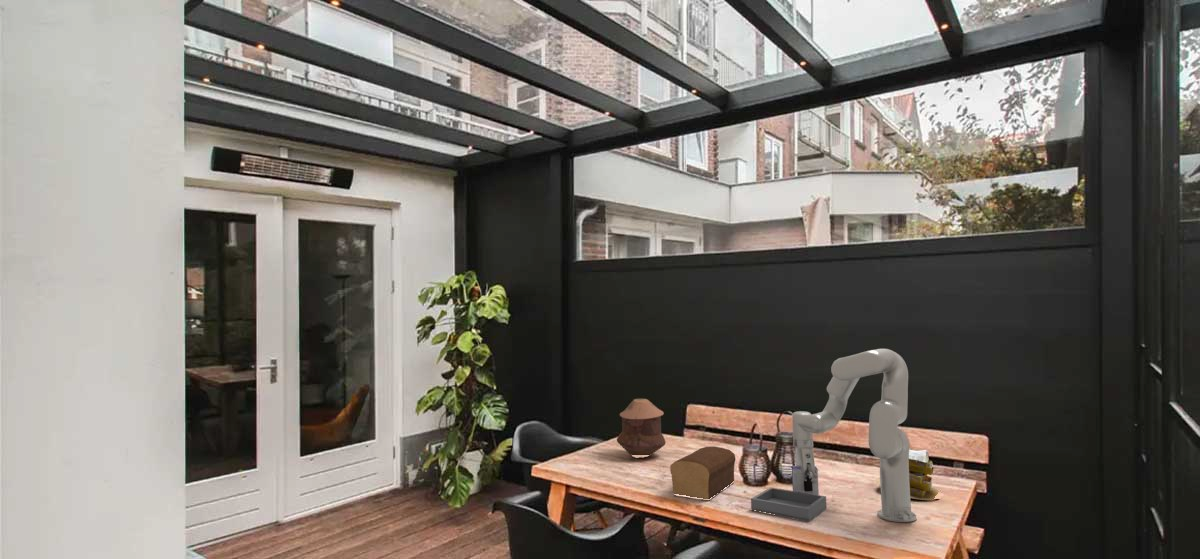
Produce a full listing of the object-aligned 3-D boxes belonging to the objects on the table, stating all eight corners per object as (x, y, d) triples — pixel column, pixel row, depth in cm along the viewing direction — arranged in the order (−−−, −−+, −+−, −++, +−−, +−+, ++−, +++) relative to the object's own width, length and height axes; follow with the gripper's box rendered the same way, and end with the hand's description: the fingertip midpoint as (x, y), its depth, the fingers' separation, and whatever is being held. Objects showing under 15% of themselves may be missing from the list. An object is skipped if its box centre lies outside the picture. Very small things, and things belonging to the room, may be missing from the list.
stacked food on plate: (952, 491, 250) (949, 449, 251) (933, 505, 232) (930, 460, 233) (888, 480, 267) (886, 441, 268) (866, 494, 249) (864, 452, 250)
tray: (826, 508, 232) (825, 496, 233) (808, 521, 218) (808, 509, 219) (771, 498, 246) (770, 487, 246) (751, 510, 232) (750, 498, 232)
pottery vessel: (642, 449, 342) (640, 394, 344) (676, 456, 323) (674, 398, 325) (607, 457, 326) (605, 399, 327) (641, 465, 306) (639, 404, 308)
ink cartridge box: (817, 496, 247) (816, 460, 248) (819, 500, 242) (818, 463, 242) (792, 495, 249) (790, 459, 250) (793, 500, 244) (792, 463, 244)
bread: (670, 496, 254) (668, 457, 255) (699, 479, 279) (697, 443, 280) (711, 502, 244) (709, 461, 245) (737, 483, 269) (736, 446, 270)
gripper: (820, 447, 238) (822, 494, 237) (805, 438, 255) (807, 482, 254) (801, 448, 238) (803, 495, 237) (787, 439, 255) (789, 483, 254)
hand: (805, 488), depth 246 cm, fingers closed on ink cartridge box, 6 cm apart
